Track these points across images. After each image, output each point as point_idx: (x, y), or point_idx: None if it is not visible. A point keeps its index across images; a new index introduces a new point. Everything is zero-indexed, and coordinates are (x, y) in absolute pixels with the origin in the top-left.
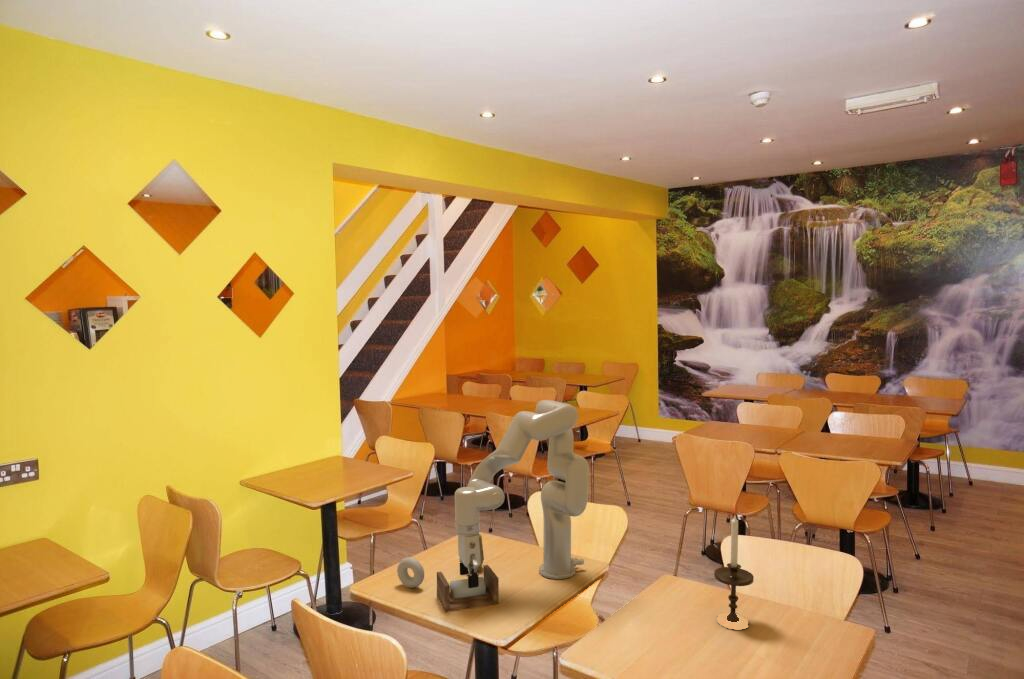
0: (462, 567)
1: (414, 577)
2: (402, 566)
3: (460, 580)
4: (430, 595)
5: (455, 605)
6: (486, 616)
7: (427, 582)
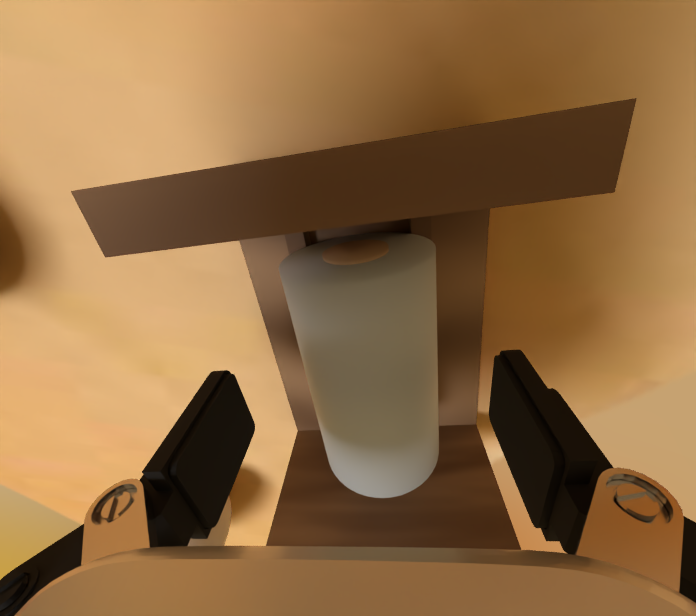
0: (226, 478)
1: None
2: None
3: (372, 455)
4: (288, 450)
5: (456, 400)
6: (629, 252)
7: (160, 443)
